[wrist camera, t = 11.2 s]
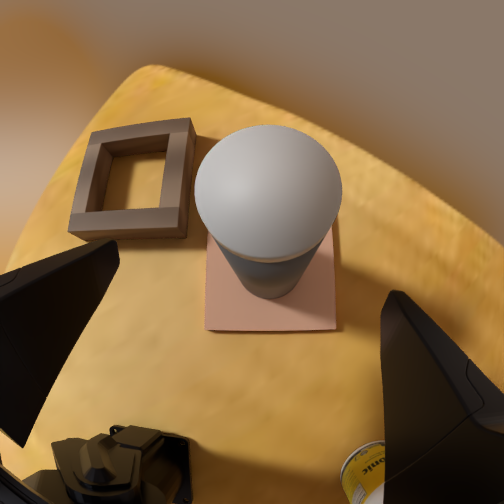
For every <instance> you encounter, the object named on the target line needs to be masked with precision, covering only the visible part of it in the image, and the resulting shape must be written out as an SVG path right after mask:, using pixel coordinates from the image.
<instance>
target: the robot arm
mask: <svg viewBox="0 0 504 504" xmlns="http://www.w3.org/2000/svg"><path fill="white" fill-rule="evenodd" d="M119 264H120V258H119V252H118V245H117V242H116V240H114V239H110V238H103V239H100V240H97V241H94V242H91V243H88V244H85V245H82V246H79V247H76V248H73V249H70V250H67V251H64V252H62V253H59V254H56V255H53V256H50V257H48V258H45V259H42V260H39V261H37V262H34V263H31V264H29V265H26V266H23V267H22V268H18V269H16V270H13V271H10V272H8V273H5V274H2V275H0V431H1V432H2V433H3V434H5V435H6V436H7V437H8V438H10V439H11V440H12V441H13V442H15V443H16V444H17V445H19V446H20V447H21V448H24V446H25V444H26V442H27V439H28V437H29V435H30V433H31V430H32V428H33V426H34V424H35V422H36V419H37V417H38V415H39V413H40V411H41V409H42V407H43V405H44V403H45V401H46V397H47V396H48V394H49V392H50V390H51V388H52V386H53V384H54V382H55V380H56V379H57V377H58V375H59V373H60V371H61V369H62V367H63V365H64V364H65V362H66V360H67V358H68V356H69V355H70V353H71V351H72V349H73V347H74V346H75V344H76V342H77V340H78V339H79V337H80V335H81V334H82V332H83V330H84V329H85V327H86V325H87V324H88V322H89V320H90V319H91V317H92V315H93V314H94V312H95V310H96V309H97V307H98V306H99V304H100V302H101V300H102V299H103V297H104V295H105V293H106V291H107V289H108V287H109V285H110V283H111V281H112V279H113V277H114V275H115V273H116V271H117V269H118V267H119ZM380 359H381V372H382V385H383V401H384V426H385V475H384V482H385V483H384V495H383V504H504V394H503V393H502V392H501V391H500V390H499V389H498V388H497V387H496V386H495V385H494V384H493V383H492V382H491V381H490V380H489V379H488V378H487V377H486V376H485V375H484V373H483V372H482V371H481V370H480V369H479V368H478V367H477V366H476V365H475V364H474V363H473V362H472V360H471V359H468V356H467V355H466V354H465V353H464V352H463V351H462V350H461V349H460V348H459V347H458V346H457V344H456V343H455V342H454V341H453V340H452V339H451V338H450V337H449V336H448V335H447V334H446V333H445V332H444V331H443V330H442V329H441V328H440V327H439V326H438V325H437V324H436V323H435V322H434V321H433V320H432V319H431V318H430V317H429V316H428V315H427V314H426V313H425V312H424V311H423V310H422V309H421V308H420V307H419V306H418V305H417V304H416V303H415V302H414V301H413V300H412V299H411V298H410V297H409V296H408V295H407V294H406V293H405V292H403V291H398V290H391V291H390V292H389V294H388V297H387V299H386V301H385V304H384V306H383V308H382V311H381V346H380ZM114 429H116V430H117V432H118V433H116V432H115V430H114ZM180 441H183V442H184V443H185V445H182V444H181V443H180ZM51 446H52V450H53V455H54V459H55V463H56V467H57V470H40V471H38V472H36V473H34V474H33V475H31V476H29V477H27V478H26V479H24V480H22V481H21V480H20V479H19V478H17V477H16V476H15V475H14V474H12V473H11V472H10V471H9V470H7V469H6V468H5V467H4V466H3V465H2V460H1V455H0V504H171V503H175V504H192V502H193V492H192V477H191V460H190V442H189V440H188V439H187V438H186V437H183V436H176V435H169V434H162V432H161V431H160V430H155V429H149V428H143V427H137V426H132V425H130V426H128V427H124V426H119V425H113V426H112V427H110V435H107V434H102V433H100V434H99V435H97V436H95V437H93V438H91V439H90V440H85V439H81V438H67V439H66V440H62V441H57V442H53V443H51ZM185 498H186V499H188V500H189V501H186V500H184V499H185Z"/></svg>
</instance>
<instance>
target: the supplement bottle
mask: <svg viewBox="0 0 504 504" xmlns="http://www.w3.org/2000/svg"><path fill="white" fill-rule="evenodd" d="M384 475H385V440H379V441H373V442H370V443H367V444H365V445H363V446H361V447H359V448H358V449H356V450H355V451H354V452H353V453H352V454H351V455H350V456H349V457H348V458H347V459H346V461H345V463H344V465H343V467H342V469H341V474H340V480H341V485H342V488H343V490H344V492H345V494H346V496H347V498H348V500H349V502H350V504H383V495H384V483H385V482H384Z"/></svg>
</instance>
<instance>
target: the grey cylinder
mask: <svg viewBox="0 0 504 504" xmlns="http://www.w3.org/2000/svg"><path fill="white" fill-rule="evenodd" d="M341 200H342V183H341V177H340V174H339V171H338V168H337V166H336V164H335V162H334V160H333V159H332V157H331V156H330V154H329V153H328V152H327V151H326V149H325V148H324V147H323V146H322V145H321V144H319V143H318V142H317V141H316V140H314V139H313V138H311V137H310V136H308V135H306V134H305V133H303V132H300V131H298V130H295V129H292V128H289V127H285V126H278V125H258V126H252V127H248V128H244V129H241V130H239V131H236V132H234V133H232V134H230V135H228V136H227V137H225V138H224V139H222V140H221V141H219V142H218V143H217V144H216V145H215V146H214V147H213V148H212V149H211V150H210V151H209V152H208V154H207V155H206V156H205V158H204V159H203V161H202V163H201V165H200V167H199V169H198V173H197V176H196V181H195V201H196V206H197V209H198V212H199V214H200V217H201V219H202V221H203V222H204V224H205V226H206V227H207V229H208V230H209V232H210V234H211V235H212V237H213V239H214V240H215V242H216V243H217V245H218V247H219V248H220V250H221V251H222V253H223V255H224V256H225V258H226V259H227V261H228V263H229V264H230V266H231V267H232V269H233V271H234V272H235V274H236V275H237V277H238V278H239V280H240V282H241V283H242V285H243V286H244V287H245V289H246V290H247V291H249V292H250V293H251V294H253V295H255V296H257V297H260V298H264V299H275V298H279V297H282V296H284V295H286V294H288V293H289V292H290V291H291V290H293V289H294V287H295V286H296V285H297V283H298V282H299V280H300V278H301V277H302V275H303V273H304V272H305V270H306V268H307V267H308V265H309V263H310V262H311V260H312V258H313V257H314V255H315V253H316V251H317V250H318V248H319V246H320V245H321V243H322V241H323V239H324V238H325V236H326V234H327V233H328V231H329V229H330V227H331V226H332V224H333V222H334V220H335V219H336V216H337V214H338V211H339V209H340V205H341Z"/></svg>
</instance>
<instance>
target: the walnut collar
mask: <svg viewBox="0 0 504 504" xmlns="http://www.w3.org/2000/svg"><path fill="white" fill-rule="evenodd" d="M195 142H196V132H195V129H194V127H193V124H192V121H191V118H180V119H171V120H162V121H155V122H148V123H141V124H134V125H128V126H122V127H116V128H111V129H106V130H101V131H96V132H92V133H91V136H90V139H89V143H88V146H87V149H86V153H85V156H84V160H83V164H82V167H81V171H80V175H79V179H78V183H77V187H76V192H75V196H74V201H73V205H72V210H71V215H70V221H69V226H68V232H69V233H71V234H73V235H75V236H76V237H78V238H80V239H82V240H100V239H103V238H110V239H156V238H187V224H188V212H189V200H190V189H191V179H192V169H193V160H194V151H195ZM160 151H167V155H166V161H165V167H164V174H163V181H162V189H161V196H160V204H159V208H144V209H127V210H112V211H102V207H103V202H104V196H105V191H106V186H107V181H108V177H109V172H110V168H111V163H112V159H113V157H119V156H126V155H134V154H142V153H151V152H160Z"/></svg>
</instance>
